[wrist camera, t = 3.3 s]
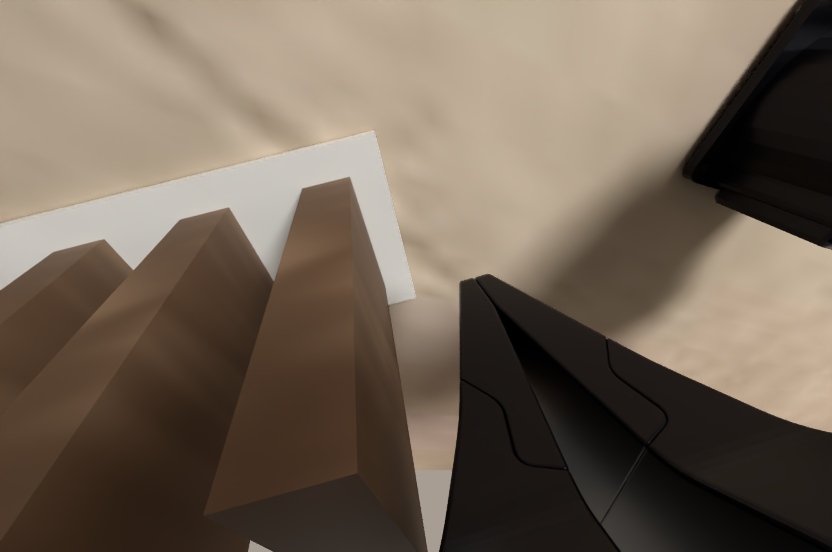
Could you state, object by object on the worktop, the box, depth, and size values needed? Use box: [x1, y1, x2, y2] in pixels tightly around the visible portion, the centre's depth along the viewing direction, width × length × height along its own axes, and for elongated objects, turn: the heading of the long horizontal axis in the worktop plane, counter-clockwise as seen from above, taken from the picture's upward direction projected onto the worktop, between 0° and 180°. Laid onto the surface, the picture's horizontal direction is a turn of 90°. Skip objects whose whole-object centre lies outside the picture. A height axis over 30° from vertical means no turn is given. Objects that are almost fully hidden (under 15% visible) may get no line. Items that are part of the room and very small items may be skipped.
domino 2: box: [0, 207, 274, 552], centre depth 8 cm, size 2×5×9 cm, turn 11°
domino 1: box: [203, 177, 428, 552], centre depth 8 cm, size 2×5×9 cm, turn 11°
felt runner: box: [0, 130, 416, 305], centre depth 12 cm, size 20×7×1 cm, turn 101°
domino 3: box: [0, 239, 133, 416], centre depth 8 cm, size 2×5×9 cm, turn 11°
